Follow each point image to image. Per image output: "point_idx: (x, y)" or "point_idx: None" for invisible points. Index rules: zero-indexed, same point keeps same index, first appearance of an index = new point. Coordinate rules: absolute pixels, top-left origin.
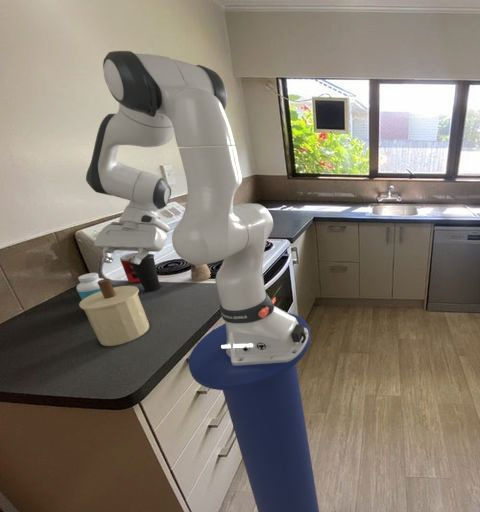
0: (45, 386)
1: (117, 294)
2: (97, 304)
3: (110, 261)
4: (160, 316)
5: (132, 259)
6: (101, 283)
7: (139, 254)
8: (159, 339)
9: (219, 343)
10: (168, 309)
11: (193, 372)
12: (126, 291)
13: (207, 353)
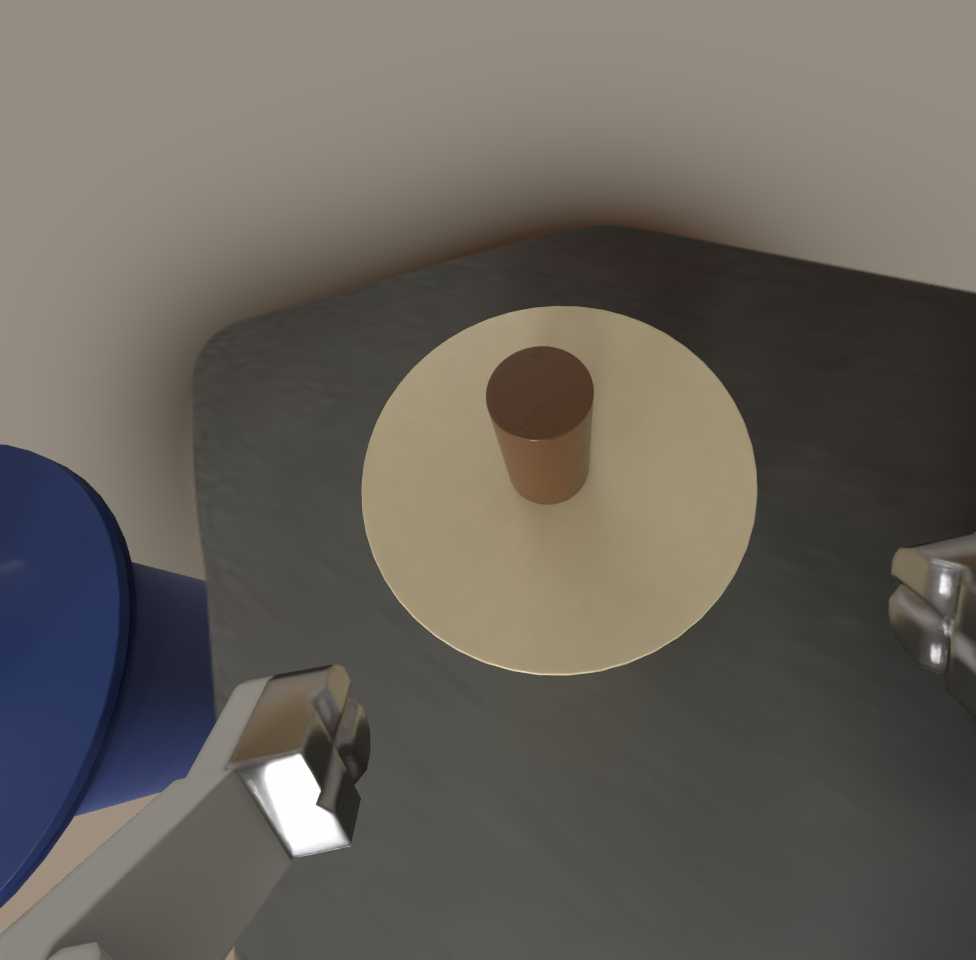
0: (495, 270)
1: (518, 506)
2: (491, 361)
3: (914, 634)
4: (541, 750)
5: (284, 704)
6: (507, 361)
7: (94, 858)
8: (339, 572)
9: (21, 623)
10: (576, 847)
11: (38, 461)
12: (498, 568)
13: (40, 554)
